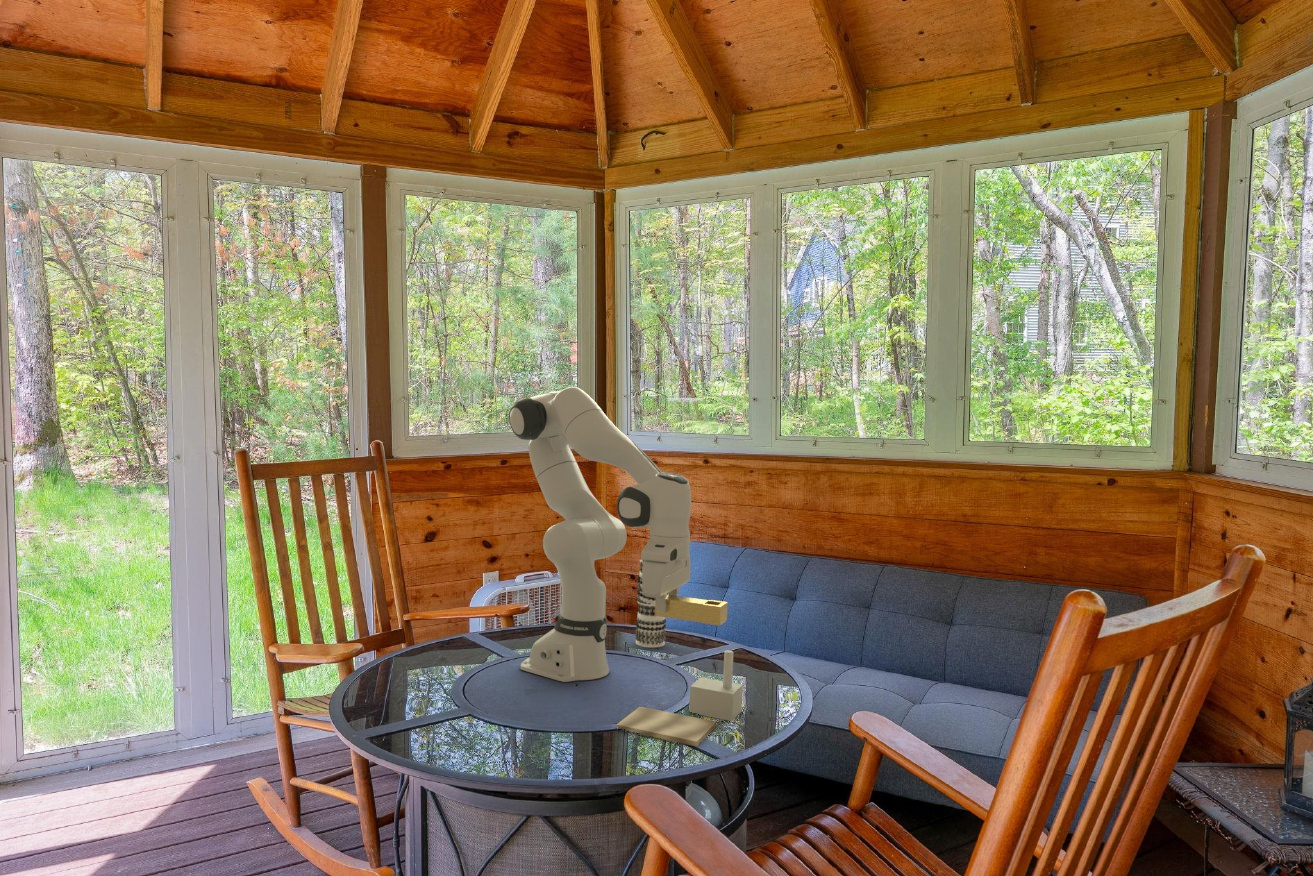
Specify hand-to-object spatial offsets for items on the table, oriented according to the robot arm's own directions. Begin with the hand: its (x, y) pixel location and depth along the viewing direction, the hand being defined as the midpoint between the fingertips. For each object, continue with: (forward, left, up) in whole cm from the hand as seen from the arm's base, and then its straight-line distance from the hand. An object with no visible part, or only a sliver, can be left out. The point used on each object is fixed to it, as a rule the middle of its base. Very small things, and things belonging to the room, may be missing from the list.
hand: (666, 610), depth 187 cm
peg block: (+10, +7, -23) cm, 26 cm away
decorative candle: (-24, +48, -24) cm, 59 cm away
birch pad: (+4, -7, -23) cm, 25 cm away
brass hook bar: (+6, 0, -1) cm, 6 cm away
